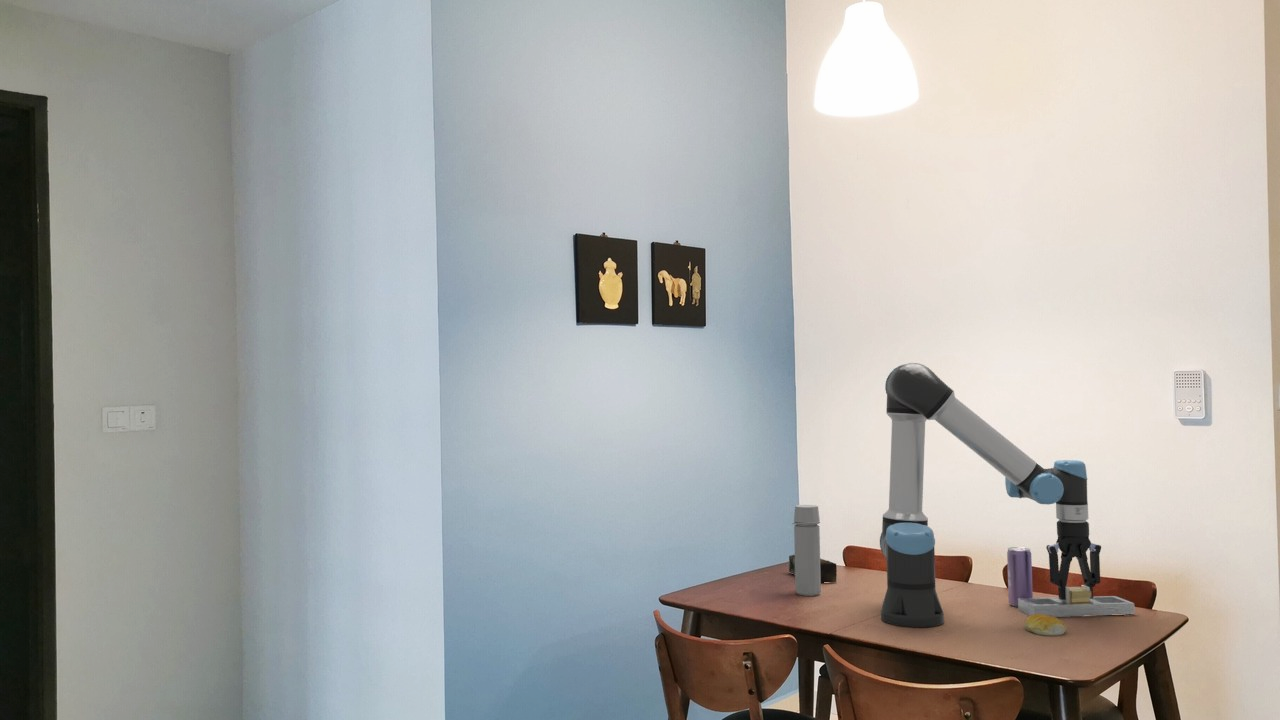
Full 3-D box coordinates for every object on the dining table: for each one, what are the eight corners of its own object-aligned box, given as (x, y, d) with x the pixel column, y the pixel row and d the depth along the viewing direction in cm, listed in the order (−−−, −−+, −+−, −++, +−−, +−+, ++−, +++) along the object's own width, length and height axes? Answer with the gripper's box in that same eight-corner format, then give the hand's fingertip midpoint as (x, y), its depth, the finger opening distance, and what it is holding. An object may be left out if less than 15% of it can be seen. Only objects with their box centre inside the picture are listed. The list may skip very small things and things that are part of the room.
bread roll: (1046, 626, 220) (1046, 609, 221) (1072, 635, 212) (1071, 618, 212) (1016, 628, 219) (1016, 611, 219) (1041, 637, 210) (1040, 620, 210)
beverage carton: (811, 572, 293) (810, 551, 293) (838, 584, 274) (837, 562, 275) (788, 573, 291) (788, 553, 291) (813, 585, 272) (813, 563, 273)
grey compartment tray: (1034, 617, 228) (1033, 605, 228) (1018, 609, 237) (1018, 598, 237) (1134, 615, 229) (1134, 603, 229) (1115, 607, 238) (1115, 596, 238)
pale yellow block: (1072, 615, 230) (1071, 591, 230) (1061, 610, 236) (1060, 587, 236) (1092, 615, 230) (1091, 591, 230) (1080, 609, 236) (1079, 586, 236)
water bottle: (827, 595, 257) (825, 506, 258) (803, 597, 254) (801, 508, 256) (809, 589, 266) (807, 503, 267) (786, 591, 263) (784, 504, 264)
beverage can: (1035, 608, 238) (1033, 550, 239) (1011, 607, 239) (1009, 550, 240) (1030, 603, 244) (1028, 547, 245) (1006, 602, 245) (1005, 546, 246)
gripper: (1046, 523, 230) (1050, 616, 229) (1114, 521, 231) (1118, 614, 229) (1032, 519, 237) (1035, 609, 236) (1097, 517, 238) (1102, 607, 237)
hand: (1076, 611), depth 233 cm, fingers open, 5 cm apart
